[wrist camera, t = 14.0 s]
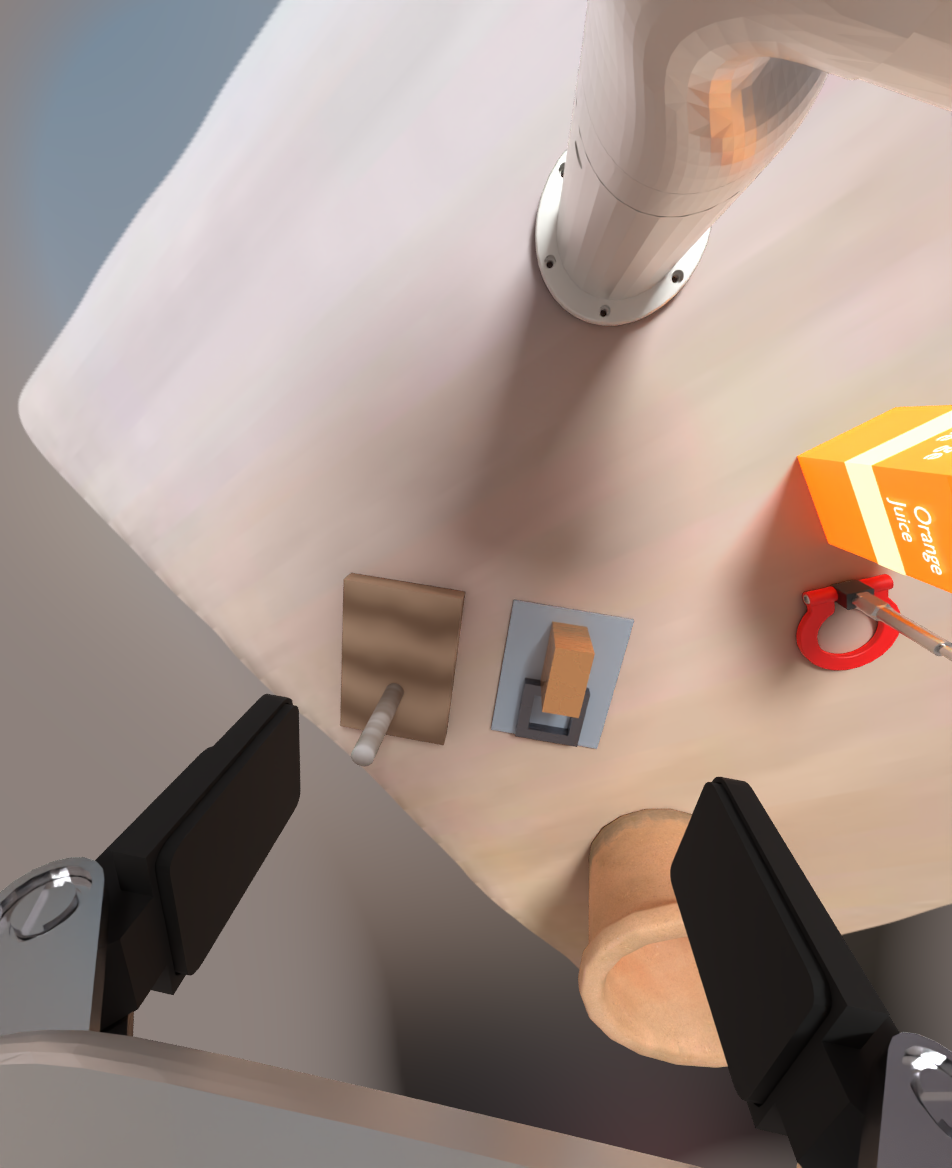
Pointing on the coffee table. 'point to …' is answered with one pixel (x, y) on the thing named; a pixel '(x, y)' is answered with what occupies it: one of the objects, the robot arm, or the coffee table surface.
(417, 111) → the coffee table surface
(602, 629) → the mat
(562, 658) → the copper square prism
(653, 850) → the pottery
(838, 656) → the tow hook
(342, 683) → the post stand
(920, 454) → the orange juice
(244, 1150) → the robot arm
